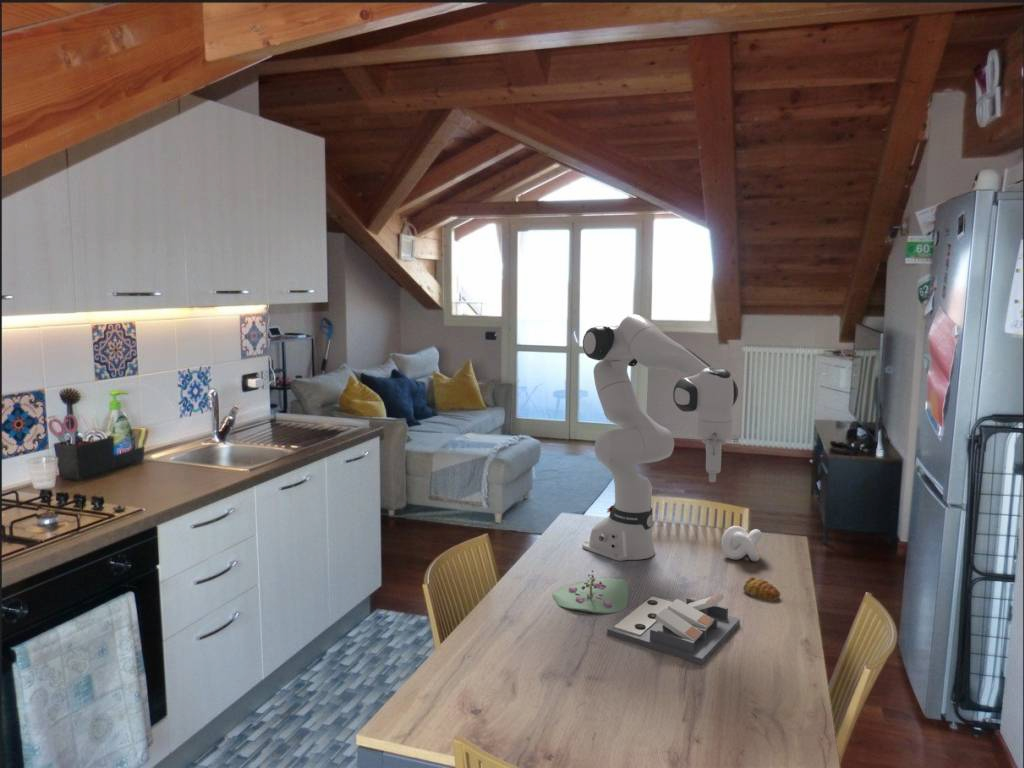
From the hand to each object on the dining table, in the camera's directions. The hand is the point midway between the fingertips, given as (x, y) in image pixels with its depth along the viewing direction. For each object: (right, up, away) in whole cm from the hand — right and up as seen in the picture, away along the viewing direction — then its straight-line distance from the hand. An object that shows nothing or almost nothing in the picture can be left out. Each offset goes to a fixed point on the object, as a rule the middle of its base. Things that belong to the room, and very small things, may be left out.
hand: (712, 480), depth 207 cm
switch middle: (-10, -30, -20) cm, 37 cm away
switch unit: (-14, -34, -17) cm, 41 cm away
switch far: (-6, -29, -15) cm, 33 cm away
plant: (-31, -32, +3) cm, 44 cm away
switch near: (-14, -31, -26) cm, 42 cm away
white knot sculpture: (+17, -27, +28) cm, 43 cm away
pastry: (+14, -31, +4) cm, 35 cm away
